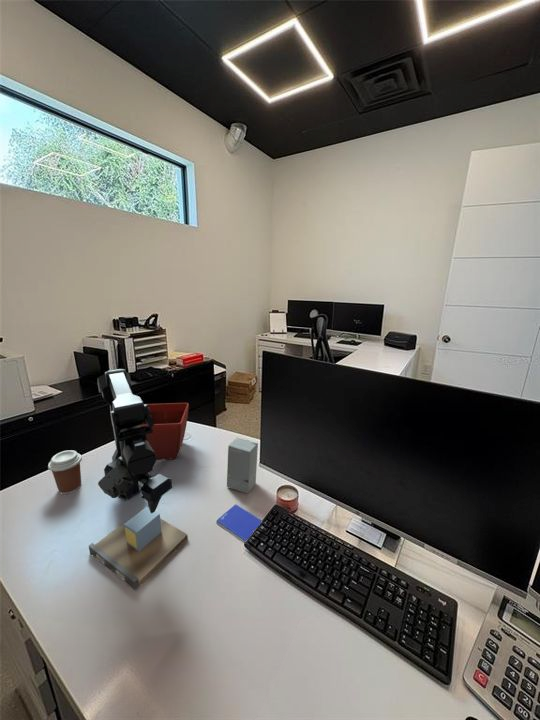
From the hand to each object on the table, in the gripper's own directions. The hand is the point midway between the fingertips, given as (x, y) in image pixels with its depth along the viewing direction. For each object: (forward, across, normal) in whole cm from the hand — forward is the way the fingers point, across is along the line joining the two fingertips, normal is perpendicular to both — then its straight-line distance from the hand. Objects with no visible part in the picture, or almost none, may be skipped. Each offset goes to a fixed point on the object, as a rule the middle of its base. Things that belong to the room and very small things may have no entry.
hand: (140, 505), depth 76 cm
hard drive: (+13, +19, +18) cm, 29 cm away
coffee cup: (+12, -39, +1) cm, 41 cm away
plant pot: (+12, -30, +32) cm, 46 cm away
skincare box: (+12, +9, +32) cm, 35 cm away
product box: (+10, 0, 0) cm, 10 cm away
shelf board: (+12, 0, -1) cm, 12 cm away
